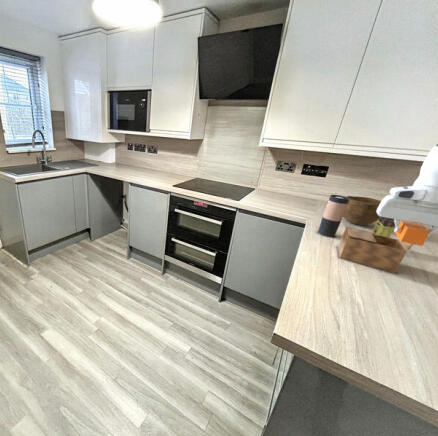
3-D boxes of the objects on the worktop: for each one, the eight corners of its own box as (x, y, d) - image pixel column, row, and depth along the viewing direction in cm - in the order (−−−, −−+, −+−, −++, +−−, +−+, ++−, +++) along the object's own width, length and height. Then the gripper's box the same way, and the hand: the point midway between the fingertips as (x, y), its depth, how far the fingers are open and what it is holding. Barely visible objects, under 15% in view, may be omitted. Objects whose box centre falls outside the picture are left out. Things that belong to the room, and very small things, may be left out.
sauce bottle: (368, 240, 117) (385, 202, 110) (385, 244, 113) (404, 205, 106) (366, 243, 113) (384, 204, 106) (384, 248, 109) (404, 208, 101)
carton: (388, 259, 99) (399, 237, 95) (395, 273, 89) (407, 249, 85) (338, 246, 108) (346, 226, 104) (339, 257, 97) (348, 235, 94)
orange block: (414, 237, 81) (421, 224, 79) (422, 246, 75) (430, 231, 73) (395, 233, 83) (401, 220, 82) (400, 241, 77) (407, 227, 75)
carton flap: (398, 237, 95) (399, 238, 95) (407, 249, 85) (408, 249, 85) (413, 220, 91) (414, 220, 91) (423, 229, 81) (425, 230, 81)
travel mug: (316, 229, 126) (328, 193, 118) (333, 233, 123) (347, 196, 116) (318, 234, 119) (332, 197, 112) (336, 238, 116) (352, 200, 109)
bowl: (360, 230, 129) (371, 204, 123) (329, 218, 146) (337, 195, 140) (385, 229, 133) (397, 204, 127) (352, 217, 150) (362, 195, 145)
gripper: (476, 199, 70) (452, 240, 75) (384, 187, 81) (369, 224, 86) (487, 204, 65) (461, 247, 70) (388, 190, 76) (372, 229, 81)
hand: (410, 234), depth 78 cm, fingers closed on orange block, 5 cm apart
